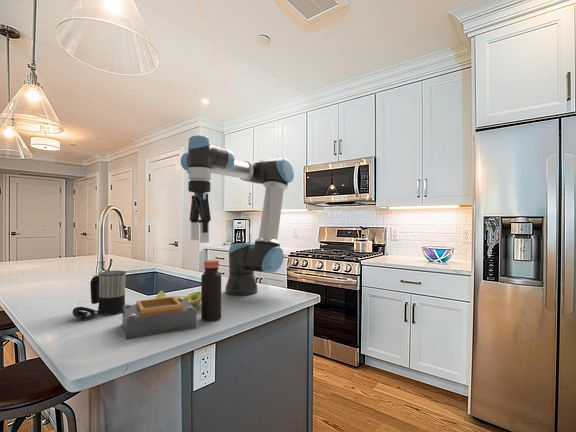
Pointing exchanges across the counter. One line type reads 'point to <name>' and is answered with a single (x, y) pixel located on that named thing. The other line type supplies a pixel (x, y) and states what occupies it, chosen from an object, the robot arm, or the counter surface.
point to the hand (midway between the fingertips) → (199, 241)
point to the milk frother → (105, 295)
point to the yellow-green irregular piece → (191, 298)
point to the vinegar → (211, 291)
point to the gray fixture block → (158, 317)
